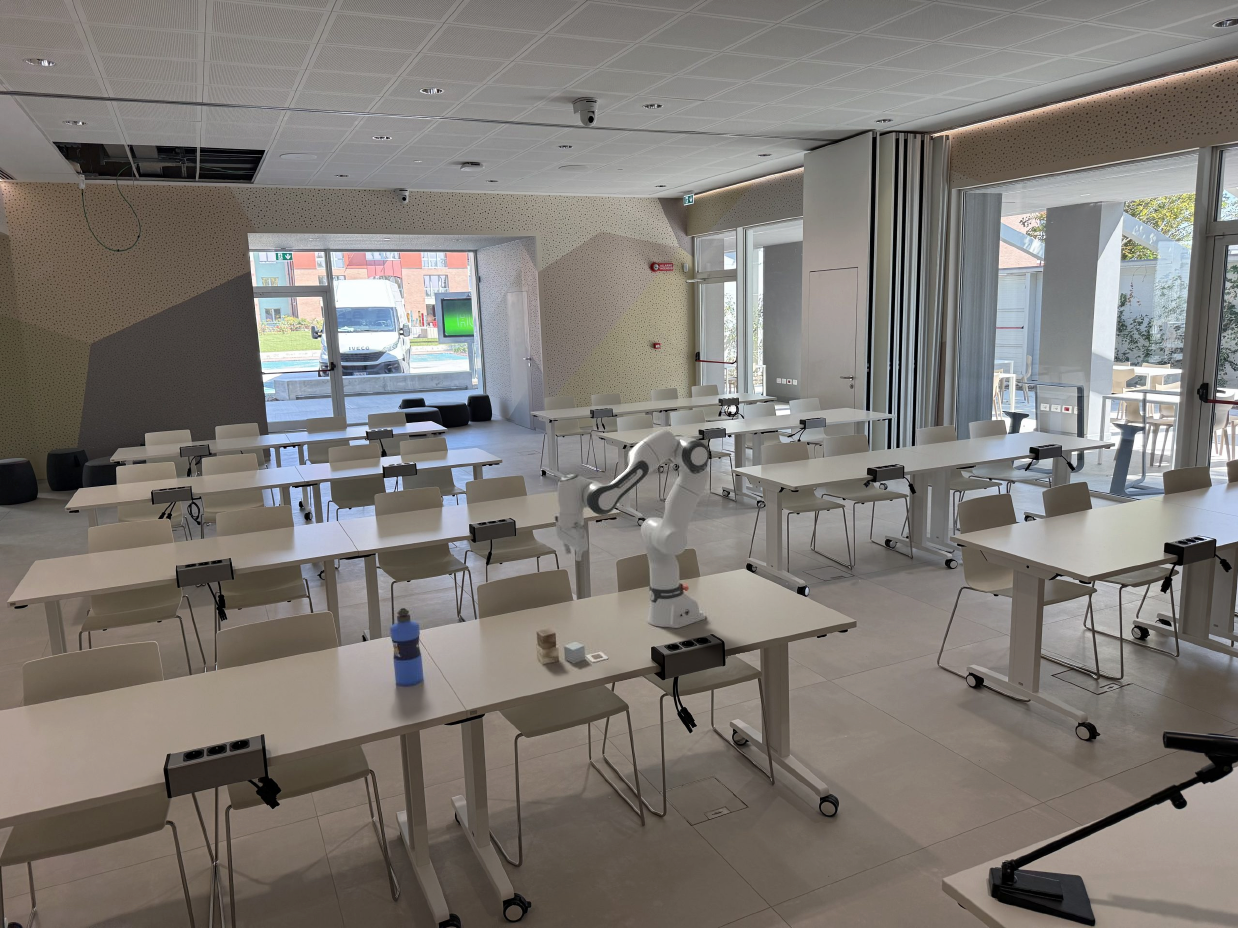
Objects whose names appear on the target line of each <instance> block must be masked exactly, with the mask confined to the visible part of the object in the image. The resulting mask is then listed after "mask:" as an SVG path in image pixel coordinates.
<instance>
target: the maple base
mask: <svg viewBox="0 0 1238 928" xmlns="http://www.w3.org/2000/svg"><path fill="white" fill-rule="evenodd" d="M559 654H560V651H559V646H558V645H557V644H556V647H553V648H549V649H545V650H543V649H541V648H540V647H539V646H538V645H537V644H536V658H537V660H538V661H540V663H541V664H542V665H544V664H548V663H553V662H558V661H560V655H559Z"/></svg>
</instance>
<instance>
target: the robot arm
mask: <svg viewBox="0 0 1238 928" xmlns="http://www.w3.org/2000/svg"><path fill="white" fill-rule="evenodd" d="M709 459H710V450H709V448H708V446H707V445H706V444H705V443H704V442H703V441H701V440H697V439H696V438H694V437H690V436H684V435H681V434H680V435H679V434H678V435H674V433H672V432H671V431H670V430H667V429H660V430H658V431H655V432H654V433H651V434H650V435H648V436H646V437H645V438H643V439H642V440H640V441H639V442H637V444H635V445H634V446H633V447H631V449H630V450H629V452H628V453H627V464H628V466H627V468H626V469H625V471H624V472H622V473H621V474H620V475H619V476H617V478H614V480H613V481H612V482H611V483H608V484H603V483H601V482H599V481H596V480H592V479H589V478H586V477H582V476H580V474H578V473H570V474H566V475H563V476H562V477H560V478H559V480H558V483H557V502H558V505H559V507H558V513H557V514H555V515H554V521H555V522H556V523H555V527H556V535H557V538H558V540H559V541H562V543H563V547H564V553H565V555H571V554H572V549H571V548H573V549H574V550H575V553H576V554H575V555H574V558H575V559H574V560H575V561H577V562H580V561H582V560H583V559H582V555H583V552H586V551H587V550H588V548H589V542H588V534H587V530H586V529H585V528H583V525H584V524H585V521H584V520H585V518H584V509H586V508H588V509H590V510H591V511H592V512H593V513H594V514H596V515H598V516H599V515H600V516H605V515H608V514H611V512H613V511H614V510H615V508H616V507H617V505H618V503H619V502H620V500H621V499H622V498H623V497H625V496H626V494H628V493H629V492H630V491H631V490H632V489H634V488H635V487H636V486H637V485H638V484H640V482H642V481H643V480H644V478H646V476H647V475H649V473H651V472H652V471H653V470H655V469H656V468H657V467H659V466H660V465H661V464H662V463H664V462H665V461H668V460H669V461H671V462H672V463H674V464H676V465H677V466H680V472H679V474H678V475H679V476H678V477H677V478H676V480H675V482H674V484H673V486H672V488H671V490H670V492H669V494H668V496H667V497H666V499H665V502H664V506H665V507H664V508H665V509H664V514H663V518H661V517H649V518H646V519H645V520H644V521H643V522H642V524H641V526H640V534H641V536H642V538H643V541H644V547H645V551H646V555H647V560H648V567H649V582H650V583H649V585H648V589H649V590H648V591H649V602H650V603H649V609H648V610H649V611H648V616H647V618H646V619H647V620H646V621H647V623H648V624H649V625H652V626H656V627H661V628H672V629H679V628H681V627H684V626H685V627H686V626H688V625H691V624H694V623H696V622H700V621H702V620H705V619H706V617H707V616H706V614H705V612H704V611H702V609H700V606H699V603H698V601H697V600H696V599H695V598H694V597H692V596H691V595H689V594H688V593H686V592H687V591H689V586H688V585H686V584H683V583H681V582H680V565H679V561H678V560H677V558H676V556H679V555H680V554H682V553H683V552H684V551H685V550H686V548H687V546H688V537H687V534H688V528H689V524H690V520H691V518H692V515H693V513H694V511H695V509H696V507H697V506H698V503H699V501H700V499H701V497H702V495H703V493H704V491H705V489H706V487H707V483H708V480H709V478H710V473H709V470H708V463H709Z"/></svg>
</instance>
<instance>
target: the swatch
mask: <svg viewBox="0 0 1238 928" xmlns="http://www.w3.org/2000/svg"><path fill="white" fill-rule="evenodd" d="M585 658H586V659H587V660H588V661H590V662H591V663H592V664H593V663H597V662H600V661H606V660H609V657H608V656H607V655H605V653H603V652H602V651H598V652H594V653H591V654H585Z"/></svg>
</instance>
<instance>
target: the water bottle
mask: <svg viewBox="0 0 1238 928" xmlns="http://www.w3.org/2000/svg"><path fill="white" fill-rule="evenodd" d="M396 614H397V615H396V620H397V621H396V623H394V624H392V625H391V626H390V628H389V632H390V634H389V635H390V639H391V642H392V648H393V658H392V659H393V670H394V677H395V678H394V680H395V684H396V685H398V686H400V687H412V686H416V685H418V684H420V683H422V682H423V681H424V670H423V669H424V668H423V659H422V651H421V648H420V635H421V631H420V623H419V622H417V621H414V620H411V614H410V610H408V609H407V608H405V607H402V608H399V610H398V611H397V613H396Z"/></svg>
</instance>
